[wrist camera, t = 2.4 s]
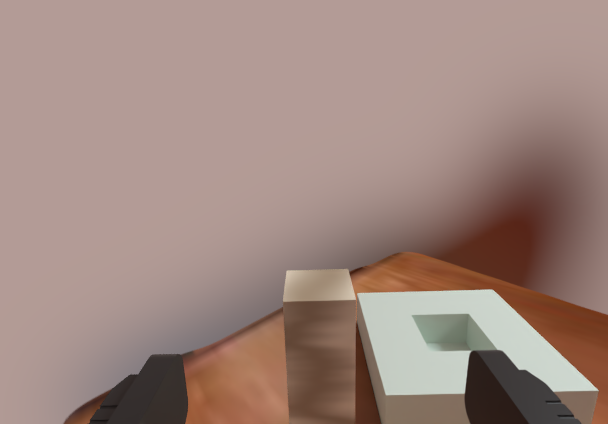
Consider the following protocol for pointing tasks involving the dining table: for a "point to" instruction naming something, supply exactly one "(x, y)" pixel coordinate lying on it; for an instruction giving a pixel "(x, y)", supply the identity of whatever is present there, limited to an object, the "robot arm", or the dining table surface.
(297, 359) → the peg
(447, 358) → the socket block
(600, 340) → the dining table surface
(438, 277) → the dining table surface
